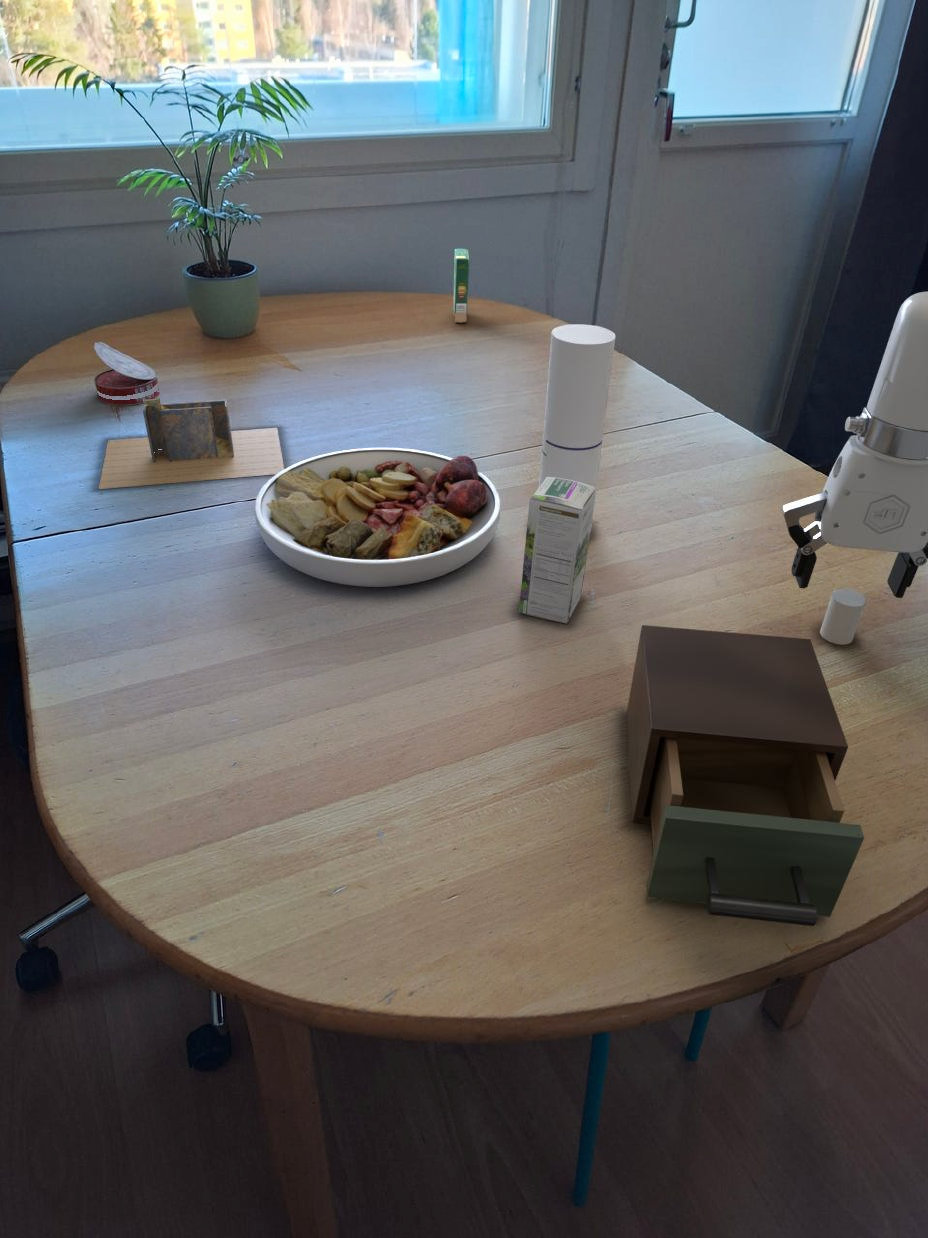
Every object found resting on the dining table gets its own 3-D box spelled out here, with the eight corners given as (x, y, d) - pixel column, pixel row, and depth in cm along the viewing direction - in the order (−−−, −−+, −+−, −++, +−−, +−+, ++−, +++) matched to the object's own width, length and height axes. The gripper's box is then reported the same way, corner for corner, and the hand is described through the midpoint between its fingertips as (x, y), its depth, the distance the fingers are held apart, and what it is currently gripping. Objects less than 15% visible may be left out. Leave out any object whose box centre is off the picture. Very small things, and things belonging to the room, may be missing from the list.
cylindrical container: (560, 548, 108) (581, 348, 94) (524, 524, 113) (538, 330, 99) (602, 532, 112) (628, 337, 97) (565, 509, 117) (585, 320, 102)
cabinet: (812, 841, 71) (848, 746, 65) (632, 822, 72) (651, 728, 66) (781, 728, 82) (810, 638, 76) (626, 714, 83) (641, 624, 77)
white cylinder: (848, 627, 96) (861, 589, 93) (856, 646, 93) (870, 607, 90) (816, 625, 96) (829, 587, 93) (823, 643, 94) (836, 605, 91)
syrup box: (533, 587, 101) (543, 473, 93) (583, 599, 99) (597, 484, 91) (518, 613, 97) (526, 496, 88) (569, 626, 95) (583, 508, 87)
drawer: (845, 972, 61) (883, 892, 56) (650, 950, 62) (670, 870, 57) (796, 792, 74) (824, 715, 69) (638, 777, 76) (653, 700, 70)
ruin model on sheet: (98, 489, 118) (81, 421, 113) (108, 440, 131) (93, 376, 125) (285, 473, 123) (278, 407, 118) (277, 427, 136) (270, 366, 131)
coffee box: (467, 323, 182) (469, 257, 174) (454, 323, 182) (455, 257, 174) (466, 312, 188) (468, 248, 181) (453, 312, 188) (454, 247, 181)
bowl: (325, 630, 93) (319, 568, 89) (222, 513, 113) (214, 458, 109) (546, 554, 107) (552, 497, 103) (420, 462, 127) (420, 411, 123)
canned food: (126, 410, 152) (131, 351, 151) (170, 415, 148) (176, 354, 147) (72, 399, 142) (77, 336, 141) (118, 404, 138) (123, 339, 136)
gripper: (816, 442, 79) (769, 597, 89) (1014, 459, 78) (943, 615, 88) (800, 410, 85) (757, 559, 95) (983, 425, 84) (920, 574, 94)
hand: (846, 585), depth 91 cm, fingers open, 9 cm apart
